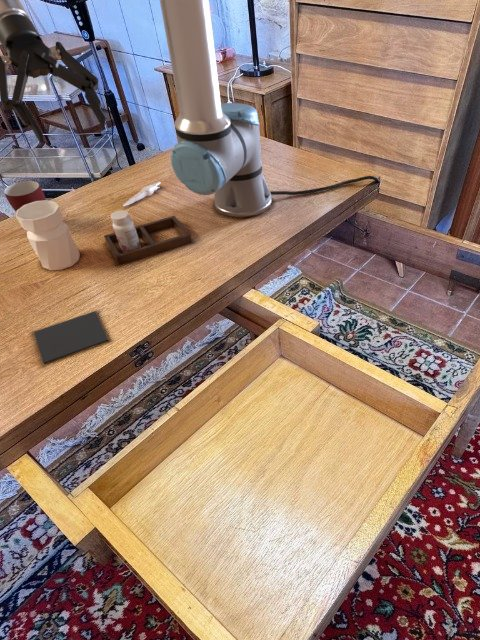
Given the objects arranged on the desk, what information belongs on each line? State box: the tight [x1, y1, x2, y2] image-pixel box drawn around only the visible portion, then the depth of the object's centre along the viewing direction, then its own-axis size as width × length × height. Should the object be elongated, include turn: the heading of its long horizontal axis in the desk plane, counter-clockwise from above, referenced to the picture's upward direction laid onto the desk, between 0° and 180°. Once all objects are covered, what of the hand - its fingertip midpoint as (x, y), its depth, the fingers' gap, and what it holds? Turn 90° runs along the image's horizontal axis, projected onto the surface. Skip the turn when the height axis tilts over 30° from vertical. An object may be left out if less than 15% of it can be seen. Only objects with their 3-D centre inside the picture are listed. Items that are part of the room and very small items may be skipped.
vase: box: [15, 199, 81, 271], centre depth 99 cm, size 9×9×12 cm
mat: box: [33, 310, 110, 365], centre depth 86 cm, size 12×10×1 cm
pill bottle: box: [110, 209, 142, 253], centre depth 103 cm, size 5×5×8 cm
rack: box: [103, 215, 193, 266], centre depth 107 cm, size 18×11×2 cm, turn 121°
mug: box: [3, 180, 47, 213], centre depth 109 cm, size 11×8×10 cm
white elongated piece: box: [122, 181, 161, 207], centre depth 122 cm, size 15×3×2 cm, turn 150°
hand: (73, 130), depth 93 cm, fingers open, 13 cm apart
